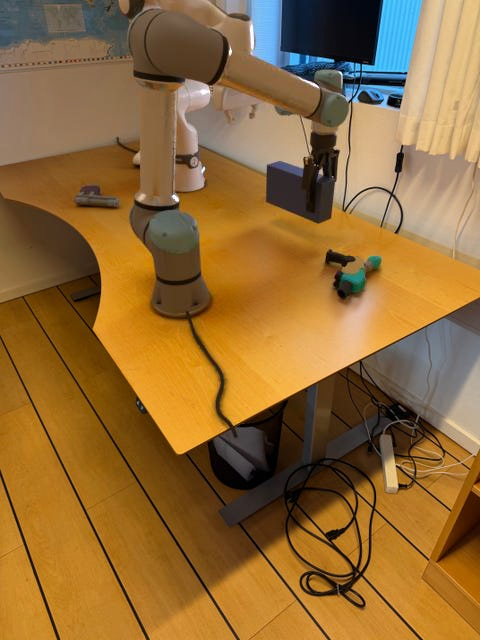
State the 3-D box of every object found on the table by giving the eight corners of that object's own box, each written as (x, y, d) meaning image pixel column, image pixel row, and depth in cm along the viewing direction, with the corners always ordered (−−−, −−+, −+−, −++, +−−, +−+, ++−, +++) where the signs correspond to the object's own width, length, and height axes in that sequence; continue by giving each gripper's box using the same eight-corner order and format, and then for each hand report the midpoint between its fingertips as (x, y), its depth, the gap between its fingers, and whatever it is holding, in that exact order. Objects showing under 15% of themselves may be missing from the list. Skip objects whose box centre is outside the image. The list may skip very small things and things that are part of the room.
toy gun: (131, 195, 187) (116, 210, 175) (87, 192, 190) (69, 207, 178) (130, 185, 185) (114, 200, 173) (85, 182, 188) (67, 197, 176)
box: (331, 218, 150) (335, 179, 142) (318, 224, 146) (322, 183, 139) (278, 197, 164) (279, 160, 157) (265, 202, 161) (266, 164, 154)
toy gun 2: (303, 279, 125) (359, 293, 119) (335, 240, 143) (384, 251, 138) (302, 294, 128) (356, 308, 122) (333, 254, 146) (382, 265, 140)
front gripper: (335, 123, 142) (328, 197, 156) (291, 135, 132) (287, 213, 146) (355, 128, 138) (346, 204, 151) (311, 140, 128) (305, 220, 141)
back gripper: (258, 69, 157) (258, 114, 165) (209, 77, 146) (212, 124, 154) (271, 71, 153) (271, 117, 161) (222, 79, 142) (224, 128, 150)
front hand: (317, 208), depth 148 cm, fingers closed on box, 6 cm apart
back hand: (241, 121), depth 158 cm, fingers open, 8 cm apart
